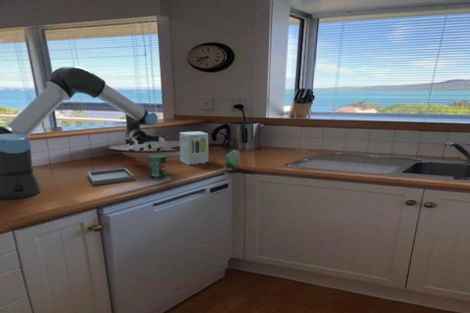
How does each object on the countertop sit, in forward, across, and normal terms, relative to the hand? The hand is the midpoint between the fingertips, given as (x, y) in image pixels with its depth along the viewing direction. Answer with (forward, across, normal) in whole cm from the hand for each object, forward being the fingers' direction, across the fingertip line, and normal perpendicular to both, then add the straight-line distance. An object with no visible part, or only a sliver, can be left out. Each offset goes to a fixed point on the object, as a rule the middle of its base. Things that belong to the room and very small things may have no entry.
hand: (150, 142), depth 155 cm
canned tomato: (+10, 0, -16) cm, 19 cm away
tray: (-1, +20, -16) cm, 25 cm away
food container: (+14, -40, -17) cm, 46 cm away
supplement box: (-14, -30, -17) cm, 37 cm away
